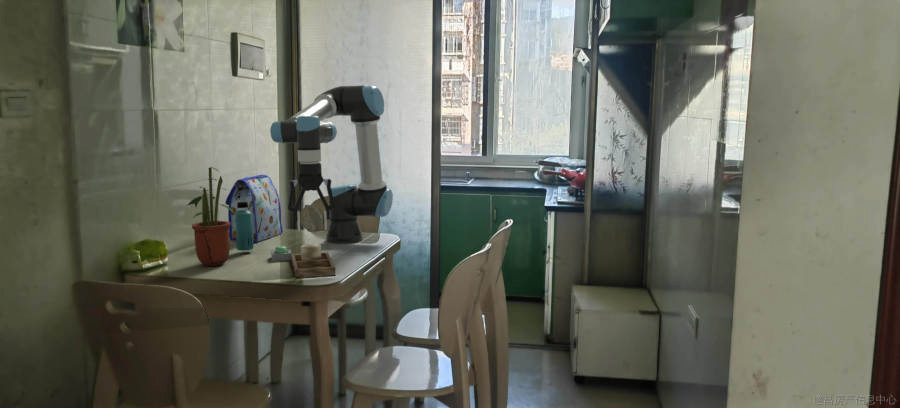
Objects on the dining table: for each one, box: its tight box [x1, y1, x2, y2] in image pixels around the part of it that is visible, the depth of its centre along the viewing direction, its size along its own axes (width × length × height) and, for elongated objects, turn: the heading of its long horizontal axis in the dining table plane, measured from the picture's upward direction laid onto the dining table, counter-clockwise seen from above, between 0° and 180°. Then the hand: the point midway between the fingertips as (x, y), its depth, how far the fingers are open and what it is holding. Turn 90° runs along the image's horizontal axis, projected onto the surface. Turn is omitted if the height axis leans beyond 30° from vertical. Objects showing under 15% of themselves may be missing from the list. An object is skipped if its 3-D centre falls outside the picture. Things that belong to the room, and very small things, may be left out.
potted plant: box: [185, 166, 235, 267], centre depth 246 cm, size 17×16×35 cm
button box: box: [270, 249, 293, 262], centre depth 254 cm, size 7×7×4 cm
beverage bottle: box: [235, 202, 255, 252], centre depth 269 cm, size 6×7×20 cm
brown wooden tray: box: [291, 251, 336, 280], centre depth 241 cm, size 13×25×3 cm, turn 16°
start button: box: [274, 245, 288, 254], centre depth 254 cm, size 4×4×4 cm
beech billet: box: [300, 243, 322, 261], centre depth 247 cm, size 7×7×6 cm
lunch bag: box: [225, 174, 283, 243], centre depth 299 cm, size 23×17×27 cm
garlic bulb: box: [299, 204, 324, 233], centre depth 233 cm, size 9×8×10 cm
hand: (312, 229), depth 234 cm, fingers closed on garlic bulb, 8 cm apart
